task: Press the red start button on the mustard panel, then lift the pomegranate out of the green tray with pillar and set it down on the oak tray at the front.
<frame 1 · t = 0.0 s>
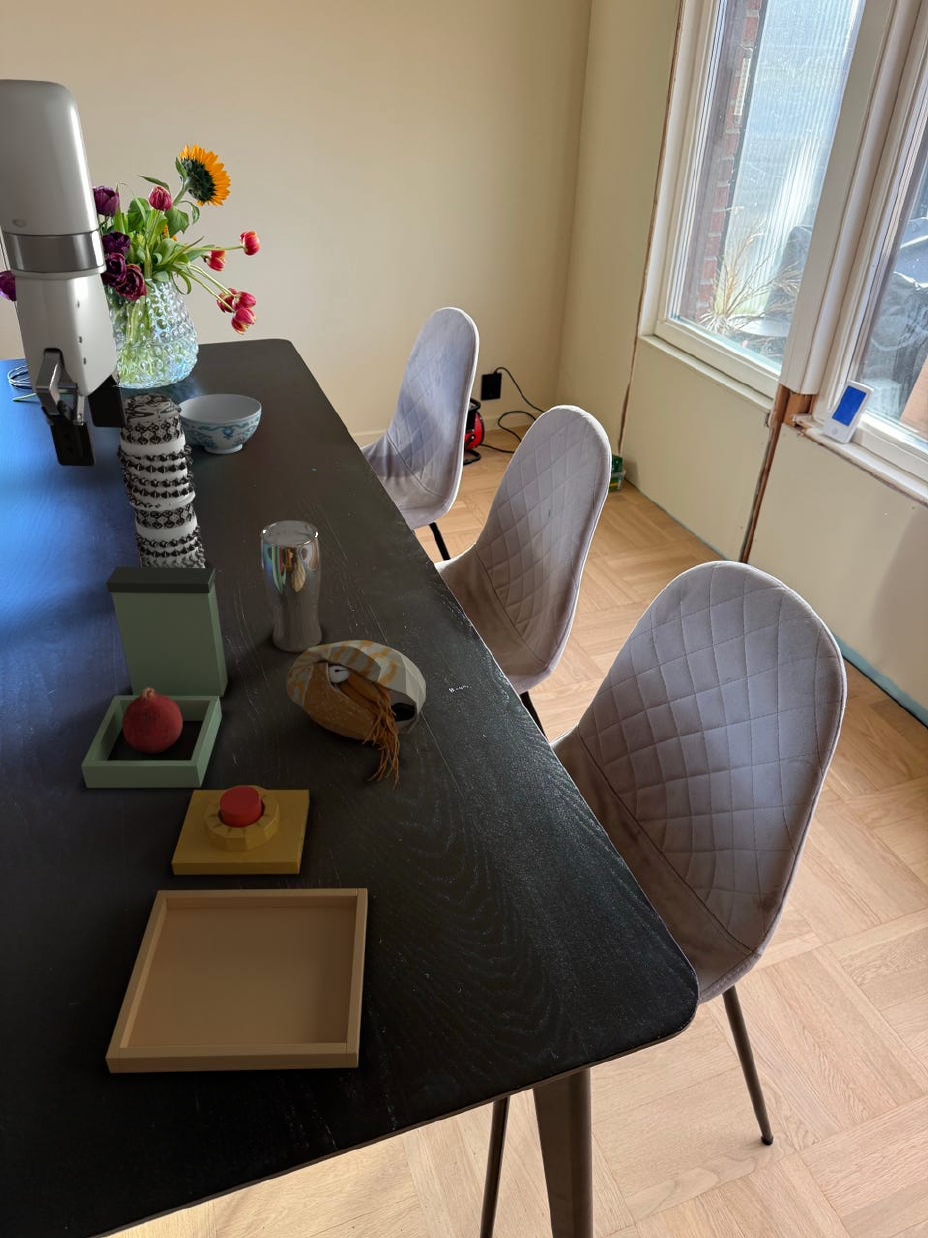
hand: (95, 444, 81), 30 cm above the table, tool pointing down, fingers open, 9 cm apart
beer glass: (297, 640, 108), on the table
oak tray: (251, 980, 68), on the table
chinaware: (223, 448, 159), on the table
start button: (240, 806, 78), point 4 cm above the table, slide at 0.1 cm
nautilus: (361, 733, 93), on the table
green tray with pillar: (158, 750, 89), on the table
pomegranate: (158, 752, 90), resting in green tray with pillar
decorative candle: (174, 574, 120), on the table
button panel: (245, 837, 80), on the table
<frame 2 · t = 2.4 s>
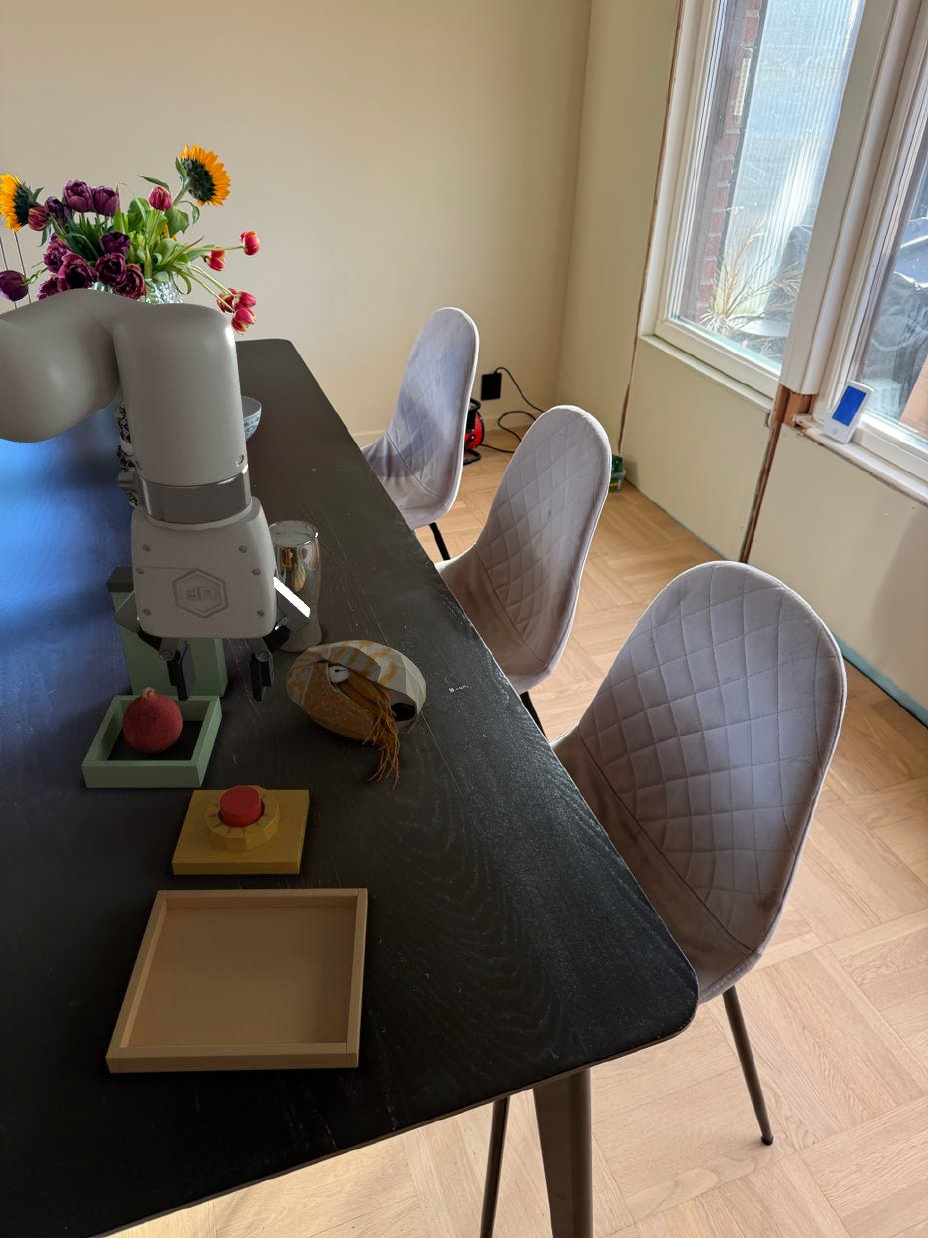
hand: (224, 689, 71), 17 cm above the table, tool pointing down, fingers open, 5 cm apart
nothing on the table moved.
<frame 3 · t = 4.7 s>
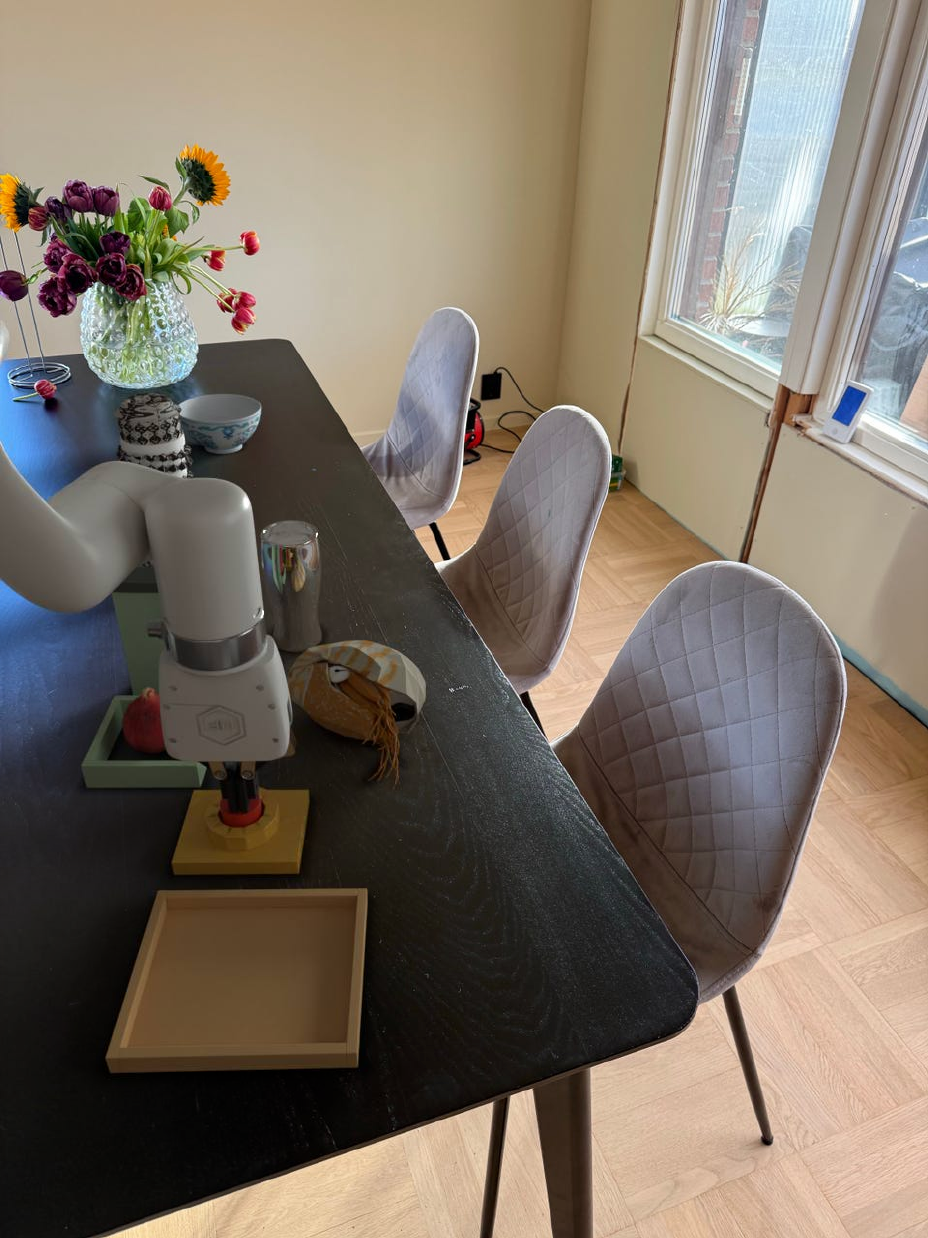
hand: (242, 801, 78), 5 cm above the table, tool pointing down, fingers closed
start button: (241, 808, 78), point 4 cm above the table, slide at -0.1 cm, touching gripper
everything else where it was.
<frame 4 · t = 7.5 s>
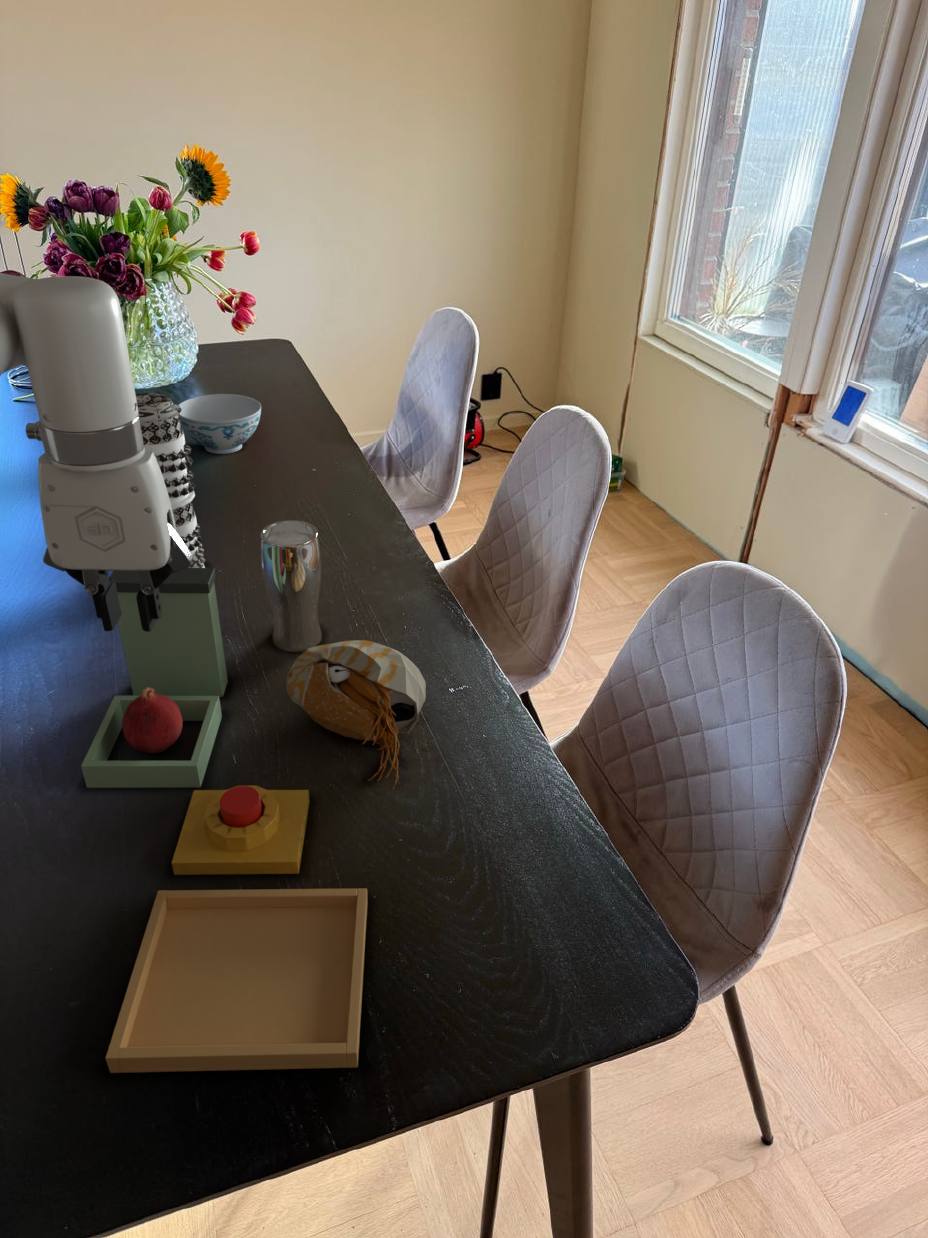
hand: (131, 621, 81), 16 cm above the table, tool pointing down, fingers closed
start button: (240, 806, 78), point 4 cm above the table, slide at 0.1 cm
everything else where it was.
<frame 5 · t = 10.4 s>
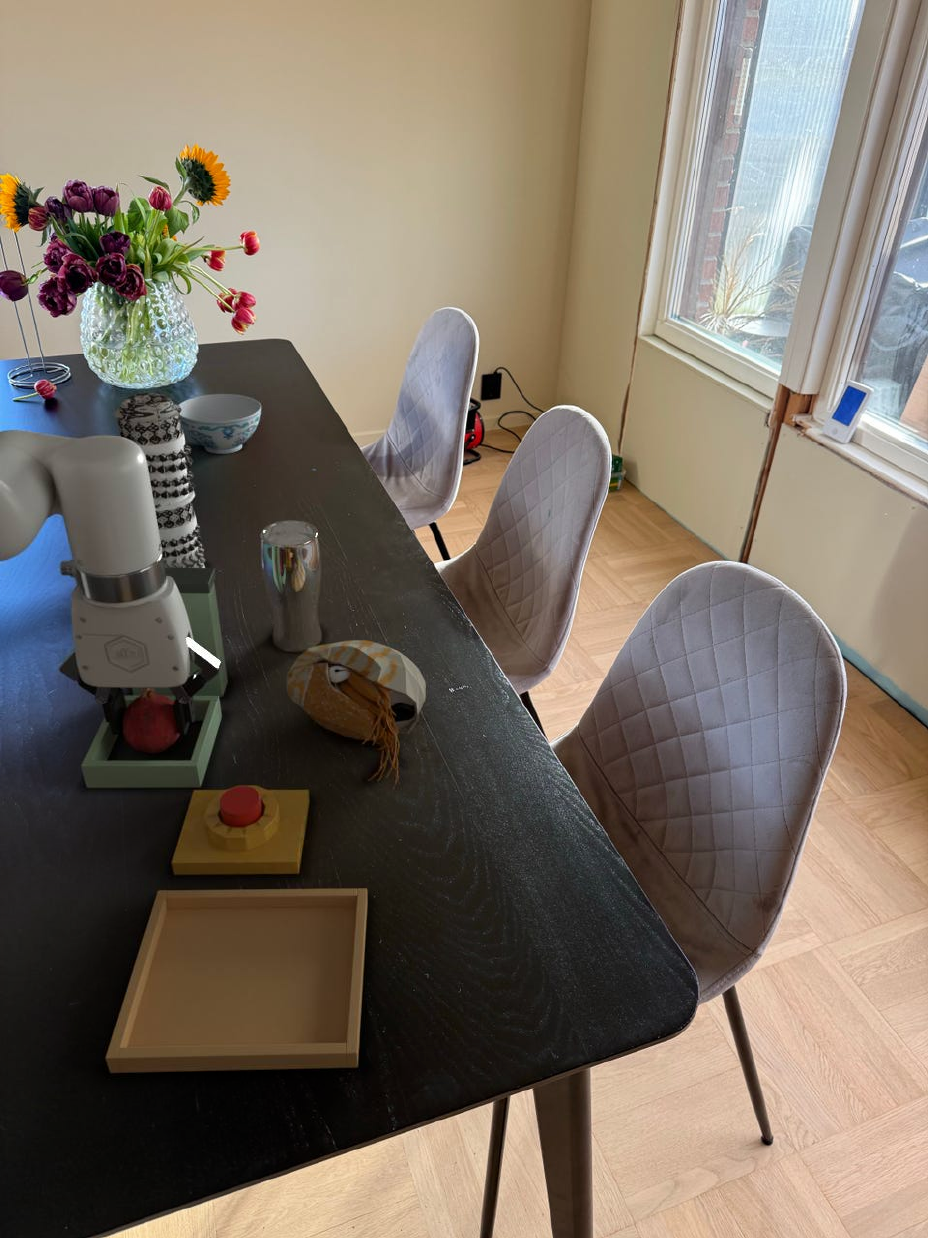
hand: (153, 724, 88), 4 cm above the table, tool pointing down, fingers closed on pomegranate, 5 cm apart
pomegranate: (158, 752, 90), resting in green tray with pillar, touching gripper
everything else where it was.
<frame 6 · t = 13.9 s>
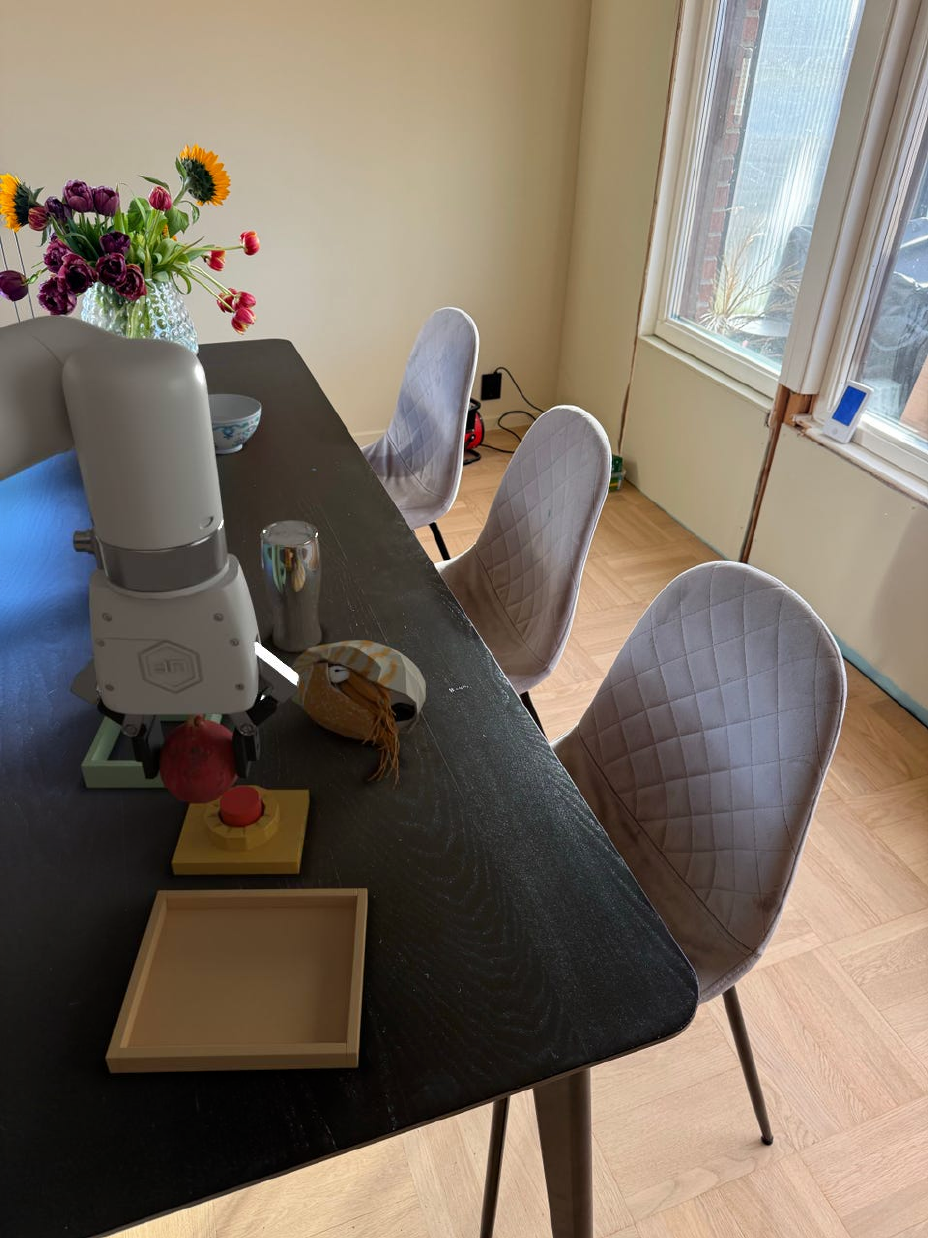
hand: (200, 764, 63), 18 cm above the table, tool pointing down, fingers closed on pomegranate, 5 cm apart
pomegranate: (207, 800, 65), point 14 cm above the table, touching gripper
everything else where it was.
when the fingers open (4 cm above the table, at t = 17.9 s): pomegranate stays where it is, resting on oak tray.
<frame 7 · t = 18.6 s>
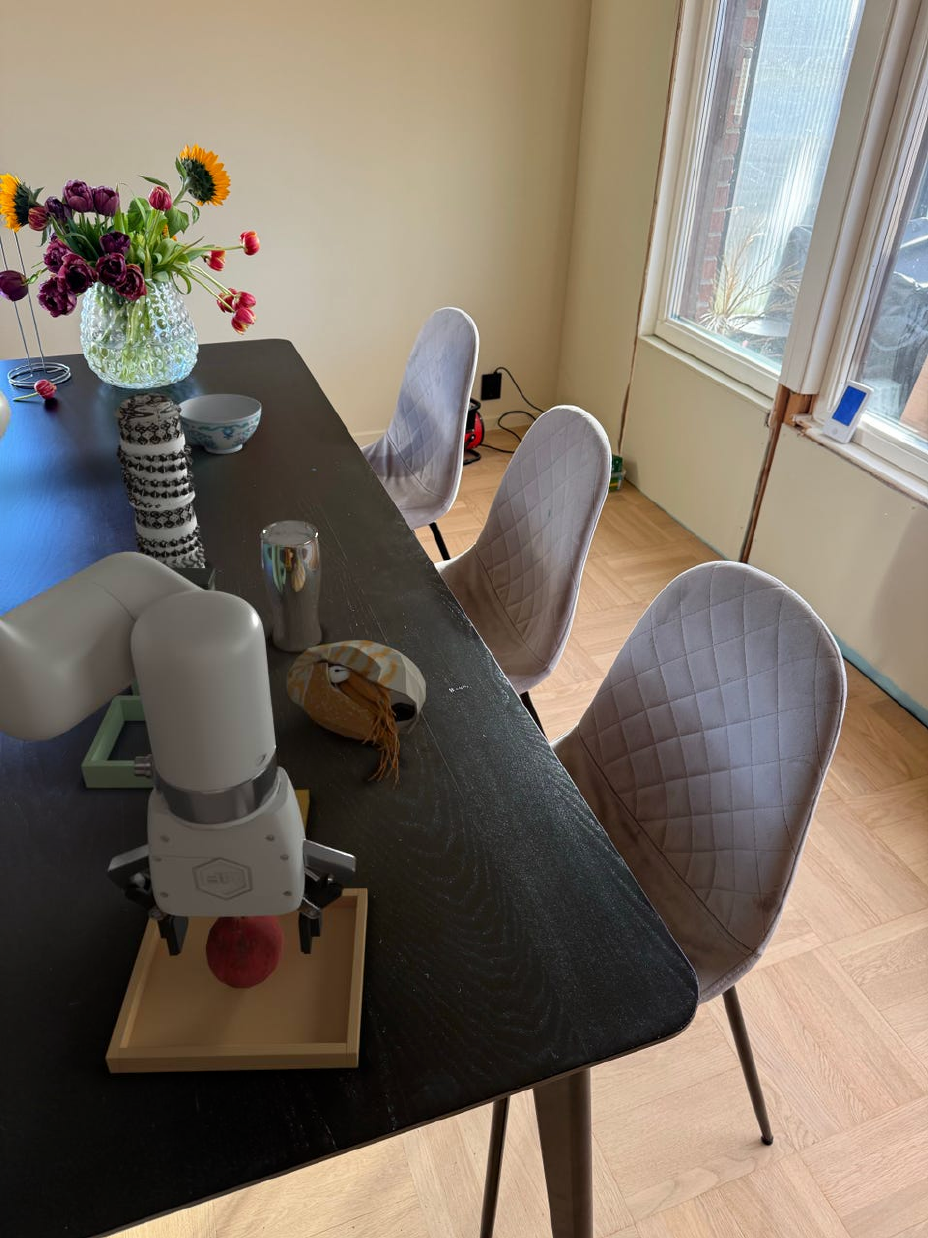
hand: (244, 938, 65), 5 cm above the table, tool pointing down, fingers open, 9 cm apart
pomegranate: (250, 977, 68), resting on oak tray
everything else where it was.
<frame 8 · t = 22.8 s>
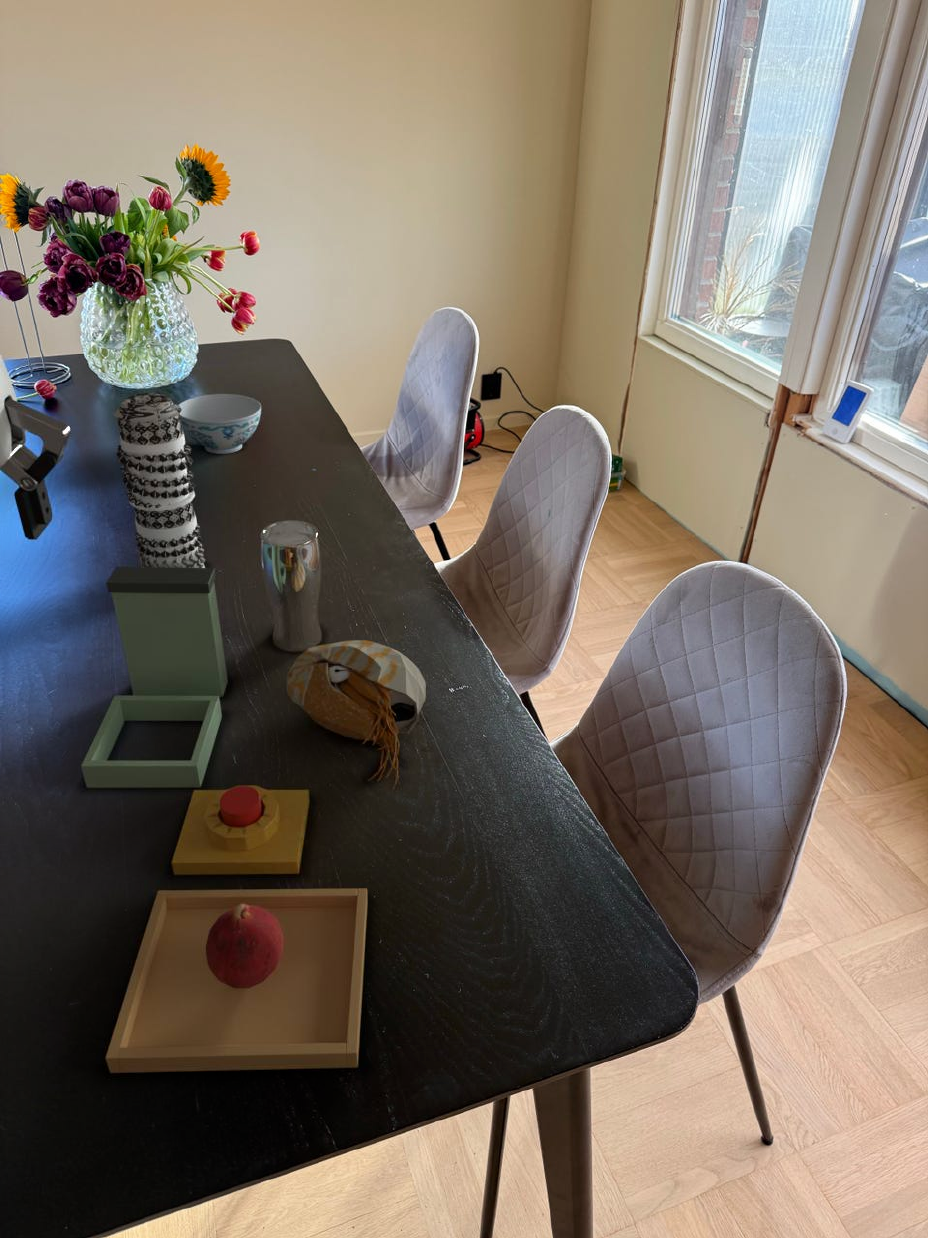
nothing on the table moved.
at the end: start button pushed in 1.1 cm at the most during the clip, back to where it started at the end; start button slide at 0.1 cm; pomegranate inside the target area in the oak tray (0.1 cm from its centre), point 0.3 cm above the oak tray's base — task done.
